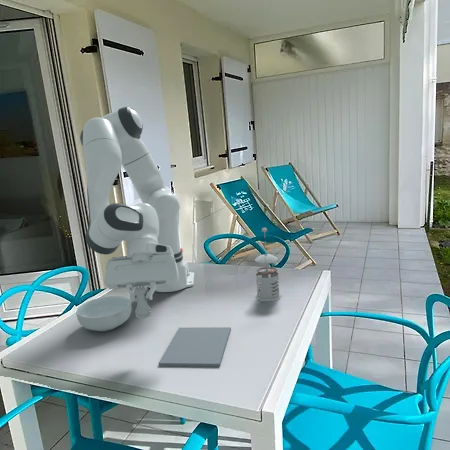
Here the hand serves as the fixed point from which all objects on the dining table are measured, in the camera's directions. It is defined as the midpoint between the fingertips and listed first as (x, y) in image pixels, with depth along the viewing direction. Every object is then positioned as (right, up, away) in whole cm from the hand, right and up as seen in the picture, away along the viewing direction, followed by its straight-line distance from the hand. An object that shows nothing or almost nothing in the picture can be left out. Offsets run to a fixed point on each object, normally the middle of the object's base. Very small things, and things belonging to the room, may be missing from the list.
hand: (141, 300), depth 109 cm
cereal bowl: (-16, -13, +22) cm, 30 cm away
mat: (+15, -14, +4) cm, 21 cm away
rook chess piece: (0, -5, +2) cm, 5 cm away
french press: (+38, -5, +37) cm, 53 cm away
